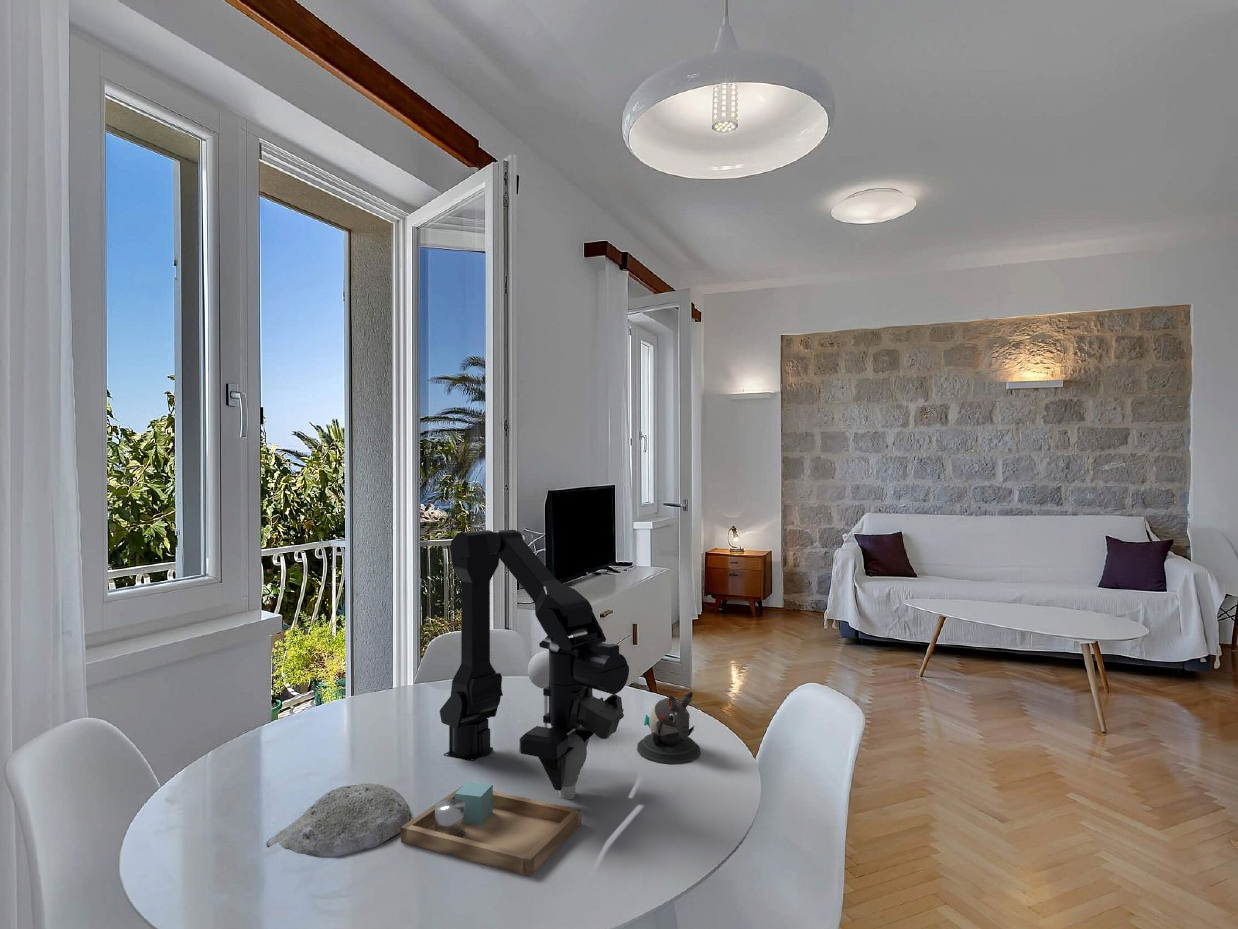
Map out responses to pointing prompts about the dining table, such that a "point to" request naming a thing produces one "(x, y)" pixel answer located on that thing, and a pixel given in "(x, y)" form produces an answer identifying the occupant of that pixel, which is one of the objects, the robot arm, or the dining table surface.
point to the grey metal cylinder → (450, 817)
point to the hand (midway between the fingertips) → (567, 782)
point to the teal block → (476, 801)
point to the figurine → (669, 733)
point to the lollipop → (540, 674)
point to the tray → (501, 833)
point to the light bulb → (573, 766)
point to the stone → (346, 821)
